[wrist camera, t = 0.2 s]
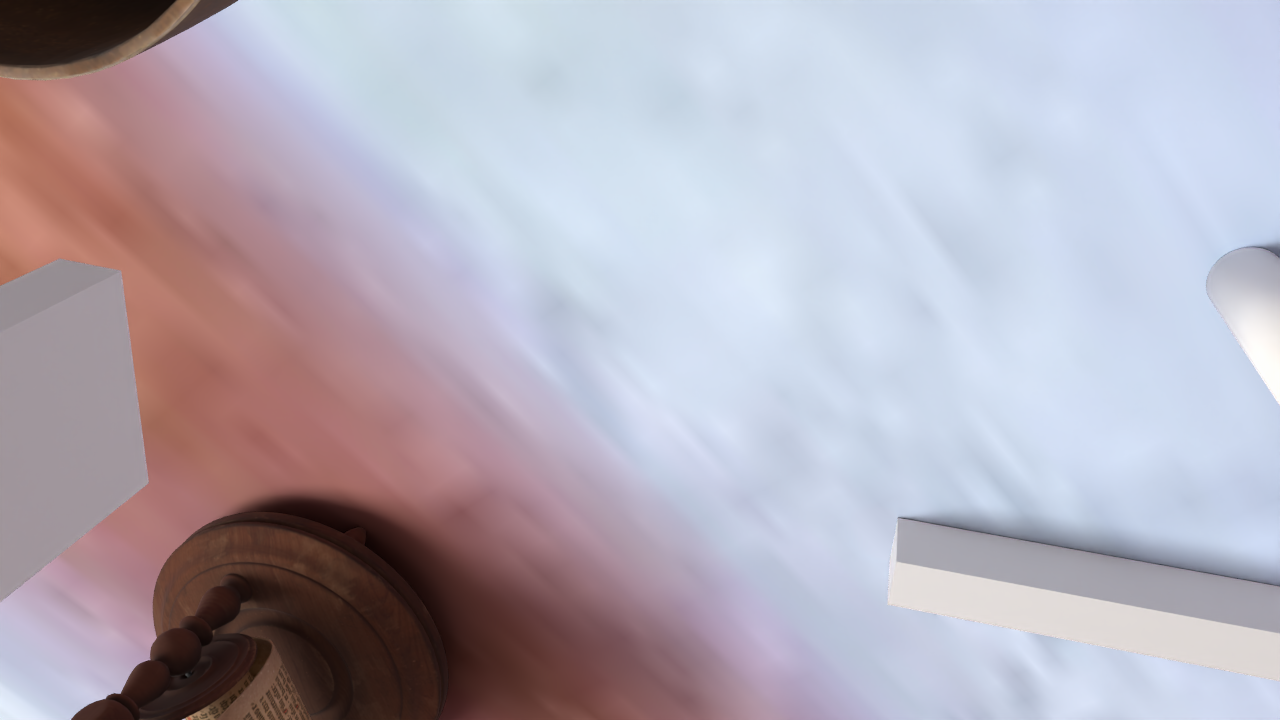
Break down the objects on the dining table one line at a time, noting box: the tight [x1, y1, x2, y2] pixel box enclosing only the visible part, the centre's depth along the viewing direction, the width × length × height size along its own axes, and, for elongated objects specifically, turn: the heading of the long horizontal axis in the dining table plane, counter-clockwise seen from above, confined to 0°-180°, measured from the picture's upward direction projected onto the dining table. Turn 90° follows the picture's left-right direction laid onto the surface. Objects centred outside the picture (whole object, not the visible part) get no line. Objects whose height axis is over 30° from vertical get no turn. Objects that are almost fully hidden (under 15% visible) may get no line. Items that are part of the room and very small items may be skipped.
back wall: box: [888, 518, 1280, 681], centre depth 39 cm, size 2×24×3 cm, turn 86°
